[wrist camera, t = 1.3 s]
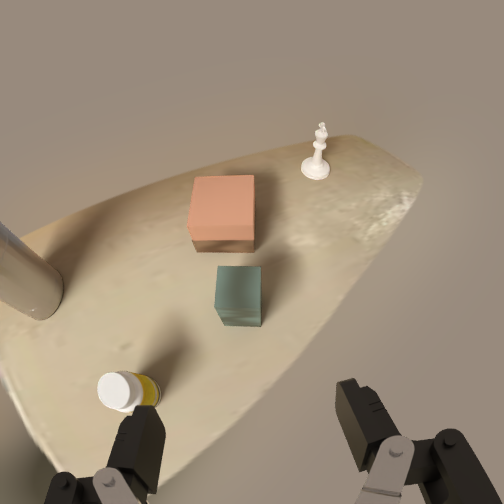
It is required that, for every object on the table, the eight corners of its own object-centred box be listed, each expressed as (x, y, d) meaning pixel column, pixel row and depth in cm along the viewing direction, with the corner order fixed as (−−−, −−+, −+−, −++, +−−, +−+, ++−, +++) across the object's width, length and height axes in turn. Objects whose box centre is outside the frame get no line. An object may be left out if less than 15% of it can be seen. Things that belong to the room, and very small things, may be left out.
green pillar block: (224, 325, 36) (214, 306, 29) (226, 292, 38) (217, 265, 31) (260, 326, 35) (259, 308, 28) (261, 292, 37) (260, 266, 30)
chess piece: (322, 157, 48) (330, 112, 40) (334, 176, 46) (345, 131, 37) (296, 162, 48) (301, 115, 39) (307, 182, 46) (314, 135, 37)
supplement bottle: (149, 368, 33) (119, 359, 26) (168, 400, 31) (142, 399, 24) (121, 386, 32) (87, 380, 24) (139, 417, 30) (107, 420, 23)
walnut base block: (197, 253, 41) (192, 241, 38) (203, 207, 45) (199, 193, 42) (254, 253, 40) (253, 240, 37) (255, 206, 44) (254, 192, 41)
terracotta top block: (192, 240, 38) (186, 226, 35) (199, 193, 42) (195, 177, 38) (254, 239, 37) (253, 225, 34) (254, 191, 41) (253, 174, 38)
